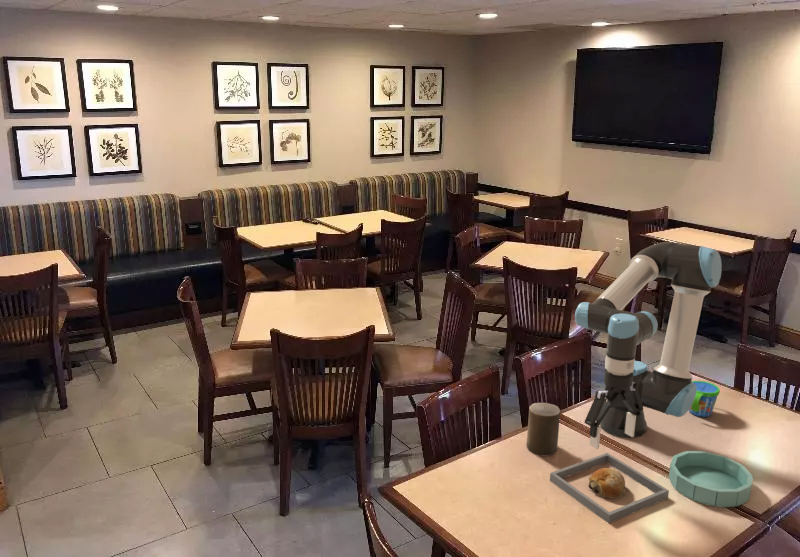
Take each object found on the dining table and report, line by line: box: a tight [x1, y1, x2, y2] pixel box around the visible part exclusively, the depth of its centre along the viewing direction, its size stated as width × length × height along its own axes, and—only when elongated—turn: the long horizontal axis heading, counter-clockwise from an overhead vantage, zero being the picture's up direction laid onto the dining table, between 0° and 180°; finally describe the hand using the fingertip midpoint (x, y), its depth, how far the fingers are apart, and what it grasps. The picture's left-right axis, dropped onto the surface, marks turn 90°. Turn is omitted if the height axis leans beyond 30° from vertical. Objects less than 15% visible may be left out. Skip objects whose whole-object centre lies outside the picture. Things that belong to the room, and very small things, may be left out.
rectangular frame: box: [549, 452, 670, 524], centre depth 190 cm, size 23×23×2 cm
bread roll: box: [588, 467, 627, 499], centre depth 189 cm, size 10×10×8 cm
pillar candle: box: [526, 402, 561, 456], centre depth 210 cm, size 10×10×15 cm
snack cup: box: [688, 380, 721, 418], centre depth 234 cm, size 16×10×10 cm
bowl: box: [668, 450, 754, 508], centre depth 191 cm, size 21×21×5 cm
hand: (612, 440), depth 186 cm, fingers open, 13 cm apart
